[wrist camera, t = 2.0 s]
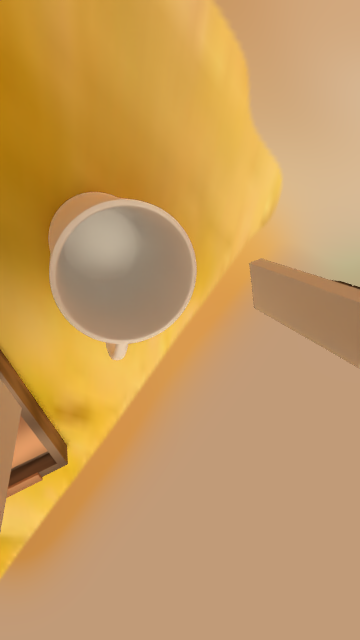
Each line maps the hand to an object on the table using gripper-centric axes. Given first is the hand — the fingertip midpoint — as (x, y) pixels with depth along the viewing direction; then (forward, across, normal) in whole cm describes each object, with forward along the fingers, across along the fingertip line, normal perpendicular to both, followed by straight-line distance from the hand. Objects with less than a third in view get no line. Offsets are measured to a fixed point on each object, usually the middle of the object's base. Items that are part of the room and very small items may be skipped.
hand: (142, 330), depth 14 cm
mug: (+15, 0, 0) cm, 15 cm away
